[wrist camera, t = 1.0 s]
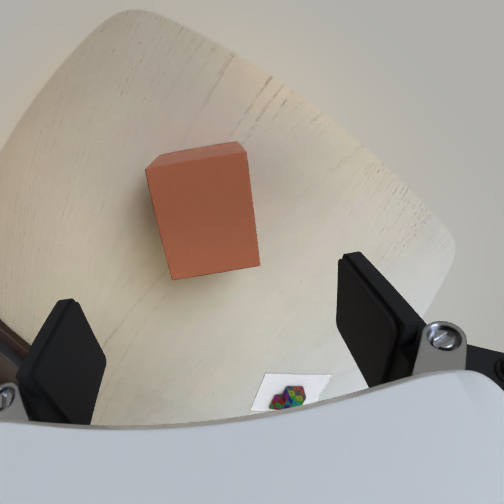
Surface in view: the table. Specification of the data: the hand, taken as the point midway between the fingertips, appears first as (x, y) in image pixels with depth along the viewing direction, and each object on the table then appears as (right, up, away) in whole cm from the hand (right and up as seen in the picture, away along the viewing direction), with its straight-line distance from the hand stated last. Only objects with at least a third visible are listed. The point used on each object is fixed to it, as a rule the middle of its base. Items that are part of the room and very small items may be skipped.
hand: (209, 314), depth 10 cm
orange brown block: (-2, +6, +11) cm, 13 cm away
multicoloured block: (+6, -14, +23) cm, 28 cm away
